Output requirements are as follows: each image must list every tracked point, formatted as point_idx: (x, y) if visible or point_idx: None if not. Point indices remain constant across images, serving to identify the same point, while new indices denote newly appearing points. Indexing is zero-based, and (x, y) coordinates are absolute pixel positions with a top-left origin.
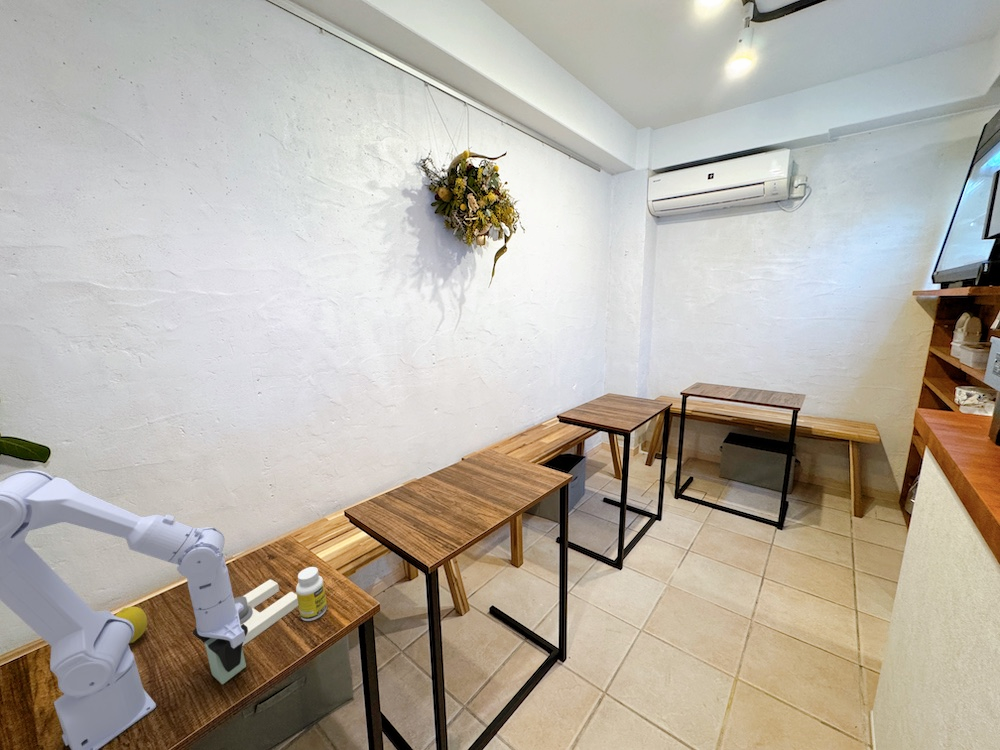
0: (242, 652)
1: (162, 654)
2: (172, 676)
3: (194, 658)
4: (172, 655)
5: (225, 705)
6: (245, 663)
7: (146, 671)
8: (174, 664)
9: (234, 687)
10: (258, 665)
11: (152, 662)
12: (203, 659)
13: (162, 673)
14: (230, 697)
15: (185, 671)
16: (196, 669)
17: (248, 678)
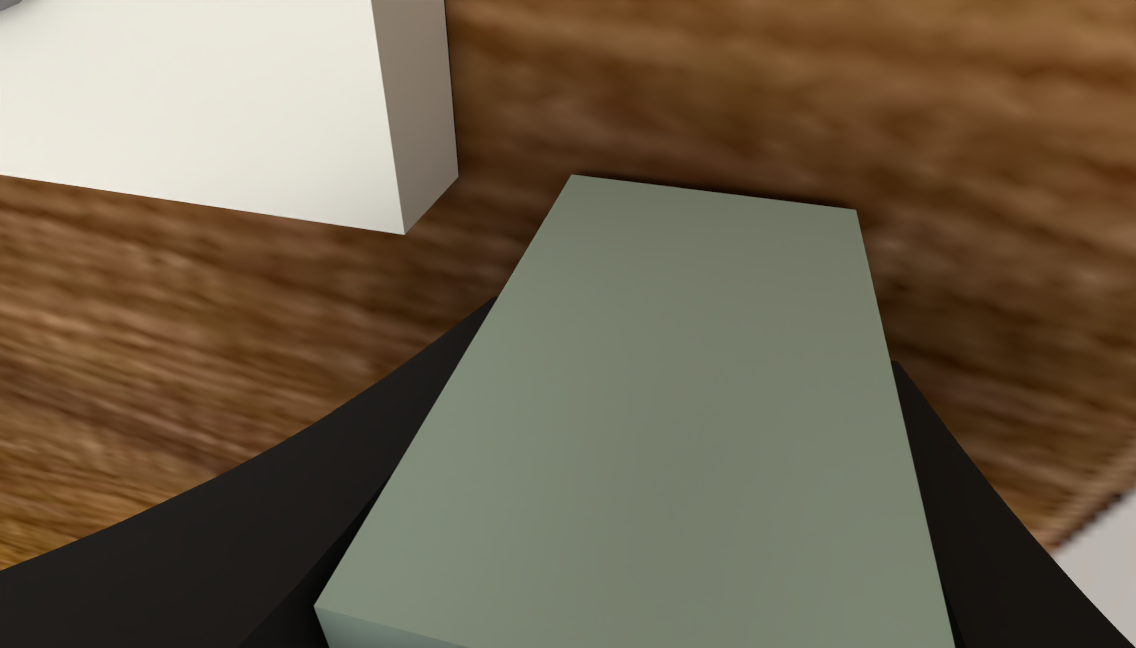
0: (887, 363)
1: (10, 343)
2: (291, 430)
3: (218, 296)
4: (65, 329)
5: (1011, 503)
6: (859, 232)
7: (119, 441)
8: (176, 370)
9: (931, 382)
10: (1002, 105)
11: (55, 396)
12: (290, 279)
13: (210, 430)
14: (990, 451)
15: (314, 386)
16: (363, 355)
17: (1017, 275)
